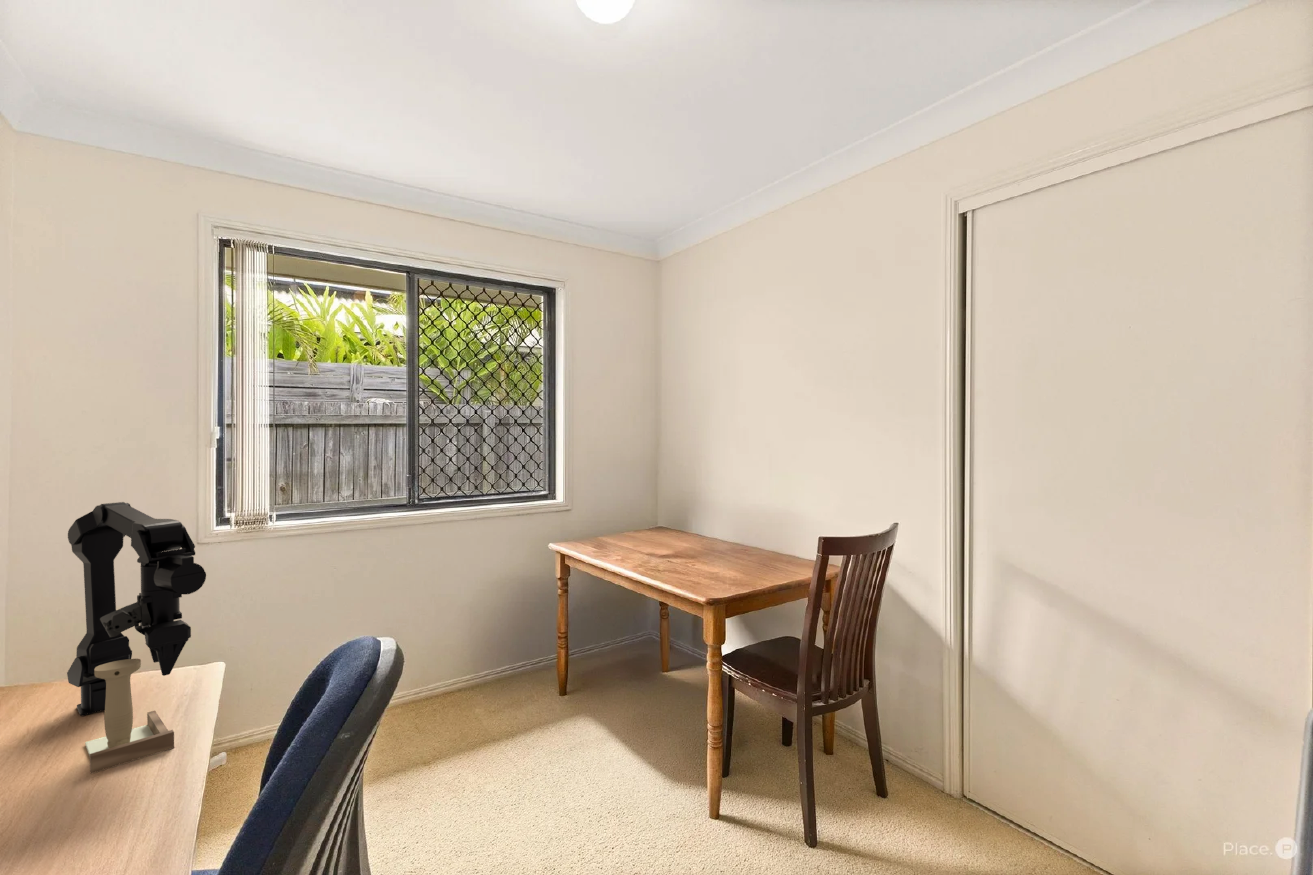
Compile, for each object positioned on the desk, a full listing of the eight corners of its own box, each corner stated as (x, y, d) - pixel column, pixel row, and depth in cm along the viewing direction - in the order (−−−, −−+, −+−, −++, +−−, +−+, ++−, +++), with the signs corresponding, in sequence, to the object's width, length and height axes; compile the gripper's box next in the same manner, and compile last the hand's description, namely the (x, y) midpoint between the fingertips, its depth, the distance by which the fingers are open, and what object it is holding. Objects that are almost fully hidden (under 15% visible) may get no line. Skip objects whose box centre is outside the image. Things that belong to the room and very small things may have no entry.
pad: (85, 745, 114) (85, 741, 114) (147, 727, 121) (147, 724, 121) (94, 769, 106) (94, 766, 106) (160, 749, 113) (160, 745, 113)
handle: (97, 744, 113) (95, 664, 113) (142, 734, 117) (141, 656, 117) (94, 756, 110) (92, 673, 109) (141, 744, 113) (140, 664, 113)
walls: (81, 746, 114) (80, 730, 114) (159, 724, 122) (158, 709, 122) (90, 773, 105) (90, 756, 105) (174, 747, 114) (174, 731, 114)
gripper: (97, 586, 118) (99, 667, 118) (110, 606, 105) (112, 696, 105) (171, 576, 126) (171, 651, 126) (191, 593, 113) (192, 677, 114)
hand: (161, 668), depth 118 cm, fingers open, 9 cm apart
